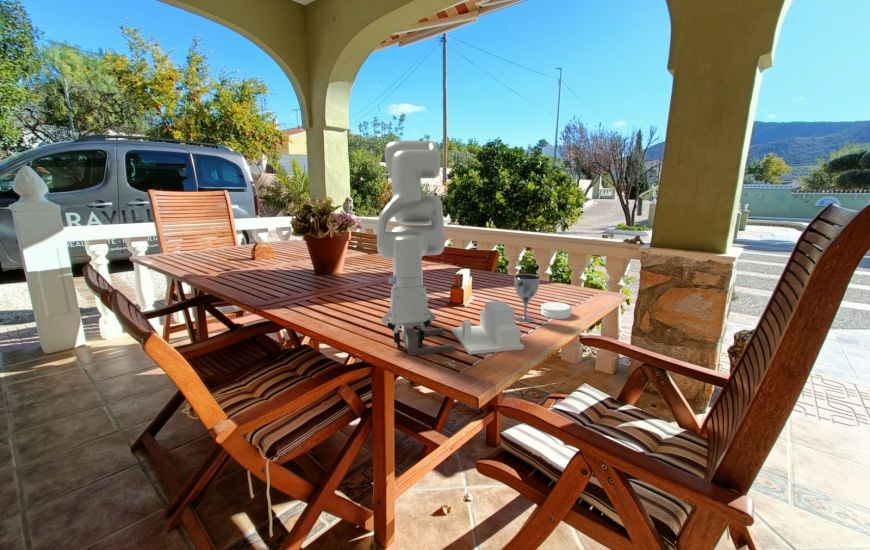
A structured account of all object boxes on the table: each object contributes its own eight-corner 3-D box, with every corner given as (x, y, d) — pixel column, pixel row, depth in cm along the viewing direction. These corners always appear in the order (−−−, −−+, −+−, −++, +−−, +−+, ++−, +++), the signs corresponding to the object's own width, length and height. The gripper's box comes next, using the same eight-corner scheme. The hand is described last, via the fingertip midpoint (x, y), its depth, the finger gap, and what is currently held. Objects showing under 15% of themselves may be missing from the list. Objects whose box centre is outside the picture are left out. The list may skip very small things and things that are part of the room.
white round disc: (570, 321, 128) (571, 311, 127) (539, 318, 131) (540, 308, 130) (570, 312, 137) (571, 302, 136) (541, 309, 140) (542, 300, 139)
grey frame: (442, 332, 117) (442, 317, 116) (454, 351, 104) (454, 333, 102) (401, 336, 114) (401, 320, 113) (408, 355, 101) (408, 337, 100)
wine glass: (529, 325, 123) (532, 280, 119) (508, 320, 128) (510, 276, 124) (541, 319, 128) (544, 276, 125) (520, 314, 134) (522, 272, 130)
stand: (498, 326, 122) (499, 296, 120) (523, 349, 105) (525, 314, 103) (451, 330, 118) (451, 299, 116) (469, 354, 101) (470, 318, 99)
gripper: (377, 286, 98) (379, 352, 102) (442, 282, 102) (442, 346, 106) (375, 279, 105) (377, 341, 109) (435, 276, 109) (436, 336, 113)
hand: (409, 343), depth 108 cm, fingers open, 5 cm apart
